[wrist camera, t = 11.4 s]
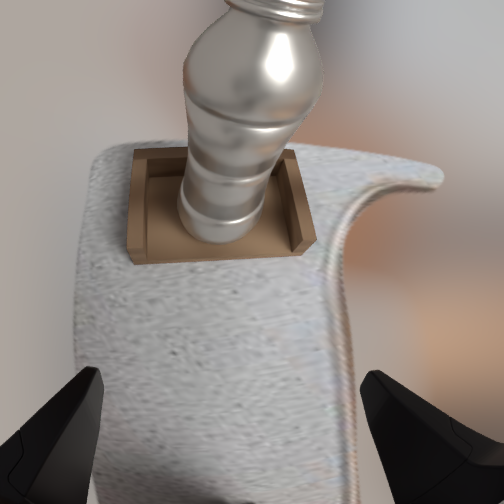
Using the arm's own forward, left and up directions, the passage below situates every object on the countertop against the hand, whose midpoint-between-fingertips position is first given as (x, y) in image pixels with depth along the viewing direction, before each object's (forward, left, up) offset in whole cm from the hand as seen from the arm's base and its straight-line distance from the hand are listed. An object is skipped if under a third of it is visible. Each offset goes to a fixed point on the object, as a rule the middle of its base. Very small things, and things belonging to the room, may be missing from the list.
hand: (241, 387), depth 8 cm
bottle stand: (+14, -2, -14) cm, 19 cm away
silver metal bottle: (+13, -2, -13) cm, 18 cm away
